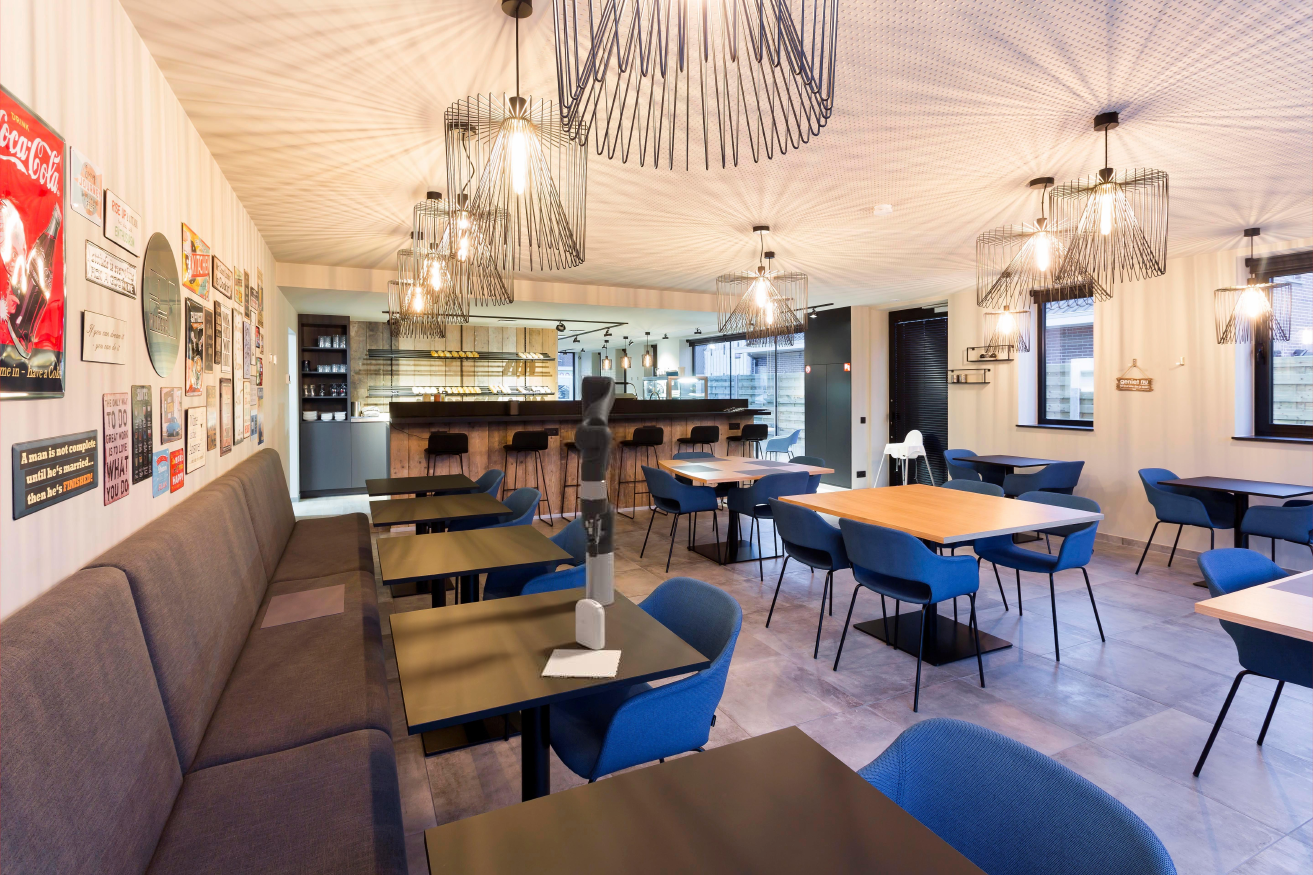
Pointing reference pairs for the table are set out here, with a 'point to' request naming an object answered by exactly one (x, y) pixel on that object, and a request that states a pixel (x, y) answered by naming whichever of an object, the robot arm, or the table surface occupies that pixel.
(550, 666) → the mat
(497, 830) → the table surface
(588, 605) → the photo printer
